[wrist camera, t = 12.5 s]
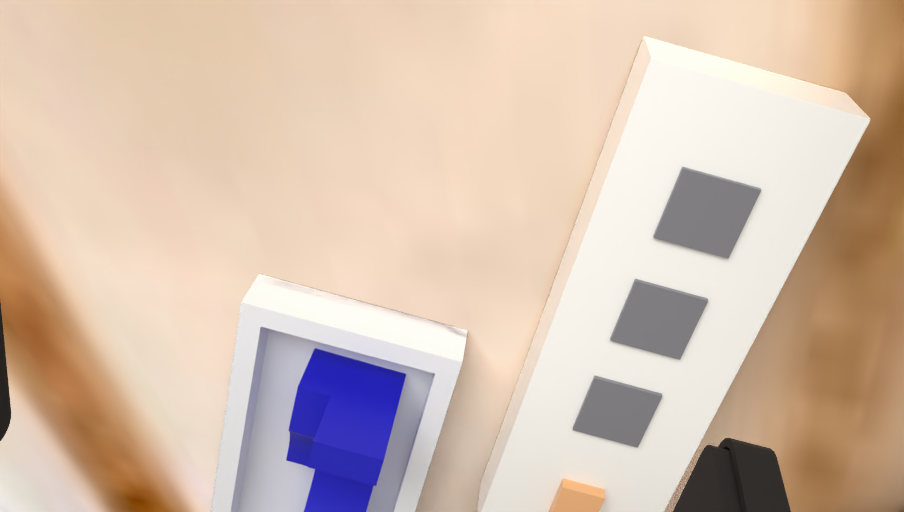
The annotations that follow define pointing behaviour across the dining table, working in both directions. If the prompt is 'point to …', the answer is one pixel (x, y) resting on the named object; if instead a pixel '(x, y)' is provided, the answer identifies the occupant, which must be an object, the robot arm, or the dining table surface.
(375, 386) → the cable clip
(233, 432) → the cable tray
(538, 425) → the power strip
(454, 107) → the dining table surface
